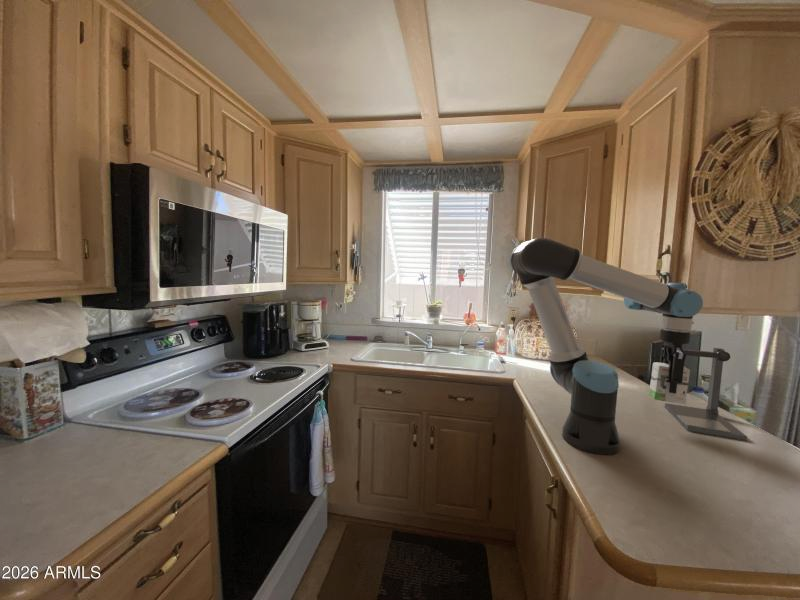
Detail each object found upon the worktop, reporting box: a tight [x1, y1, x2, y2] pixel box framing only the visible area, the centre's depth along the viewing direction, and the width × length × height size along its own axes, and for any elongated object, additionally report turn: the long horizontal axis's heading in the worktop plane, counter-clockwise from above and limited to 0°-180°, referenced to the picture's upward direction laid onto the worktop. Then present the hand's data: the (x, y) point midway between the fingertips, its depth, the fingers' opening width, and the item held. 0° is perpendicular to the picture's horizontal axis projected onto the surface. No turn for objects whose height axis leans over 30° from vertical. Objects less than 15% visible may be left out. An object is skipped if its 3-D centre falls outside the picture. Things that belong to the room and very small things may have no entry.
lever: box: [682, 348, 731, 362], centre depth 116 cm, size 3×17×4 cm, turn 67°
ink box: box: [648, 361, 691, 405], centre depth 106 cm, size 9×5×12 cm, turn 71°
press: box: [664, 347, 748, 442], centre depth 111 cm, size 21×14×25 cm
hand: (666, 398), depth 107 cm, fingers closed on ink box, 5 cm apart
